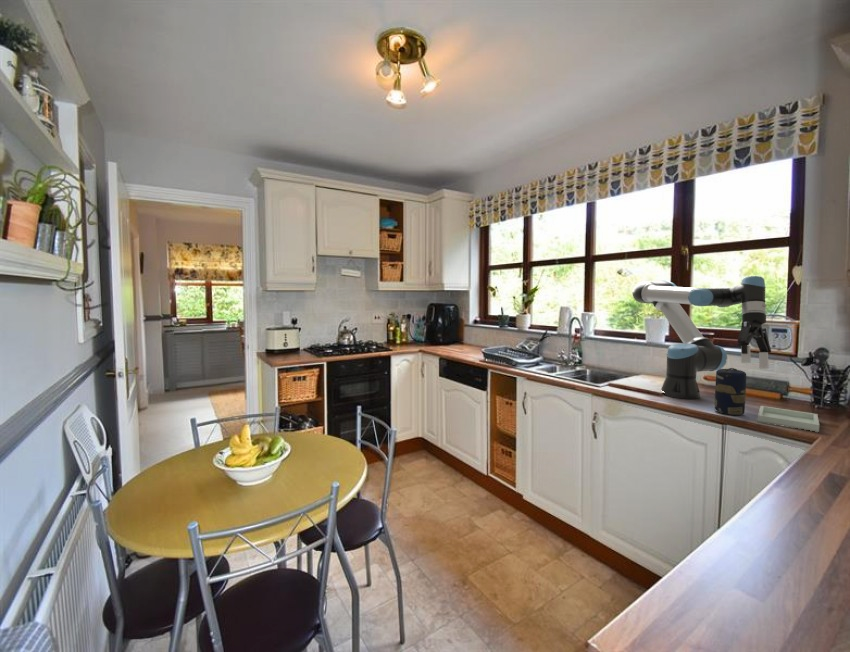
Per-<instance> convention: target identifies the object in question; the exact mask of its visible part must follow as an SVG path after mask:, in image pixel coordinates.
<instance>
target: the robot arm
mask: <svg viewBox="0 0 850 652" xmlns="http://www.w3.org/2000/svg"><path fill="white" fill-rule="evenodd" d="M765 282H766V281H765V278H764V277H762V276H759V275H758V276H757V275H751V276H749V275H748V276H745V277H743V278H742V279H741V282H740V284H739V285H736V286H733V287H728V288H727V287H726V288H724V287H723V288H718V287H717V288H711V287H709V288H705V287H702V288H701V287H683V286H677V285H676V284H675V283H674V282H672V281H666V280H660V281H659V280H658V281H657V280H656V281H652V280H651V281H646V280H644V281H640V282H638V283H637V284H635V286H634V287H633V289H632V294H631V295H632V297H633V299H634V300H635V301H637V302H638V303H641V304H652V306H654V308H655V310H656V311H661V312H662V313H663V315H664V317H665V319H666V320H667V321H668V322H669V324H670V326H671V327H672V329H673V330H674V332H675V333H676V335H678V337H679V340H681V342H682V343H676V344H671V345H669V346H668V348H667V353H666V372H665V373H666V374H665V379H664V381H663V383H662V385H661V389H660V391H661V390H662V391H664V392H665V395H664V396H666V395H667V397H669V398H670V397H672V398H675V399H682V400H683V399H685V400H694V399H695V400H696V399H700V397H701V391H700V388H699V385H698V382H697V373H699V372H714V371H717V370H719V369H724V367H725V365H726V364H727V360H728V353H727V351H726V350H725V348H723V347H722V346H720V345H715V344H714V343H713V342H712V340H711V339H710V338H708V337H704V336H703V333H701V332H700V330H699V329H698V327H697V326H696V324H695V323H694V322H693V320H692V319H691V318H690V316H689V315H688V314H687V312H686V310H685V309H684V308H683V307H682V305H683V304H684V305H692V306H696V307H718V308H729V307H731V306H735V305H739V304H741V314H742V315H741V327H740V331H739V335H738V338H737V346H739V347H740V355H741V357H740V358H741V361H740V362H741V363H742V364H743V363H744V364H745V363H746V364H747V363H752V362H751V361H752V359H751V345H750V343H751V341H752V339H754V340H755V343H756V344H757V347H758V350H759V352H758V356H759V357H758V360H759V361H758V363H759V364H758V365H759V366H758V367H759V369H761V370H763V369H769V353H772V349H771V345H770V342H769V341H770V340H769V338H768V332H767V328H764V327H762V325H765V324H766V323H767V314H766V313H767V311H766V310H767V308H766V307H767V306H768V305H767V303H766V284H765ZM681 304H682V305H681Z"/></svg>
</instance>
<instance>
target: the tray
mask: <svg viewBox="0 0 850 652" xmlns="http://www.w3.org/2000/svg"><path fill="white" fill-rule="evenodd" d="M759 407H760V408H759V410H758V413H757V423H760V422H763V423H762V424H765V423H769V424H768V425H771V424H776V425H775V426H777V425H784V426H788V427H787V428H789V427H793V428H792V429H795V428H798V429H797V430H801V429H804V430H803V431H806V430H810V431H809V432H812V431H815V432H814V433H818V432H819V433H820V421H819V417H818V415H819V414H818V413H813V412H812V413H811V412H807V411H806V412H805V411H799V410H793V409H786V408H785V409H784V408H778V407H772V406H766V405H760V406H759Z"/></svg>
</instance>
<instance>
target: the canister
mask: <svg viewBox="0 0 850 652" xmlns="http://www.w3.org/2000/svg"><path fill="white" fill-rule="evenodd" d="M715 371H716V372H715V387H714V388H715V391H714V410H715V411H717V412H719V413H721V414H726V415H732V416H733V415H734V416H741V415H743V414H745V411H746V410H745V409H746V396H747V395H746V393H747V373H746V372H745V371H743V370H739V369H737V368H734V367H729V368H721V369H719V370H715Z"/></svg>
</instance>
